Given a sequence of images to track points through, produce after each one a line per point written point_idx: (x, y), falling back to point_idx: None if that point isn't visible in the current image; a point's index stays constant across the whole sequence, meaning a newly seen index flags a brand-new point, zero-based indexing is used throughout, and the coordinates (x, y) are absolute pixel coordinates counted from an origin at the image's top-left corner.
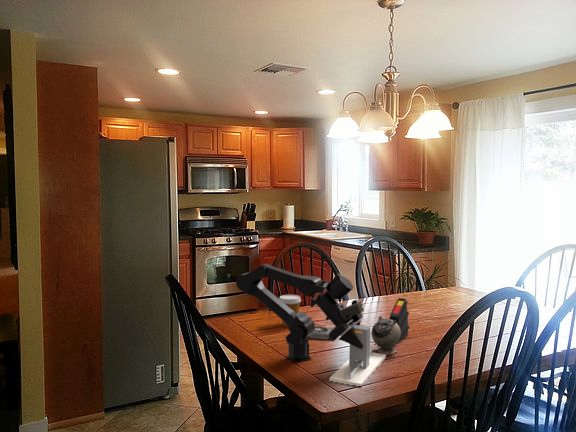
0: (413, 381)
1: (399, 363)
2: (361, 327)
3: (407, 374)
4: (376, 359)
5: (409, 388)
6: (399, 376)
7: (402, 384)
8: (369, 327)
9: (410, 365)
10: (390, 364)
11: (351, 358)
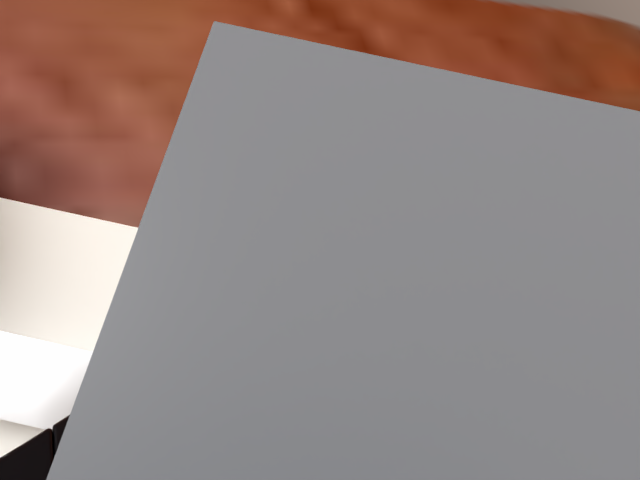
0: (474, 4)
1: (100, 81)
2: (436, 453)
3: (347, 34)
4: (83, 267)
5: (610, 33)
6: None
7: (558, 71)
8: (290, 55)
9: (139, 6)
10: (135, 151)
11: None
